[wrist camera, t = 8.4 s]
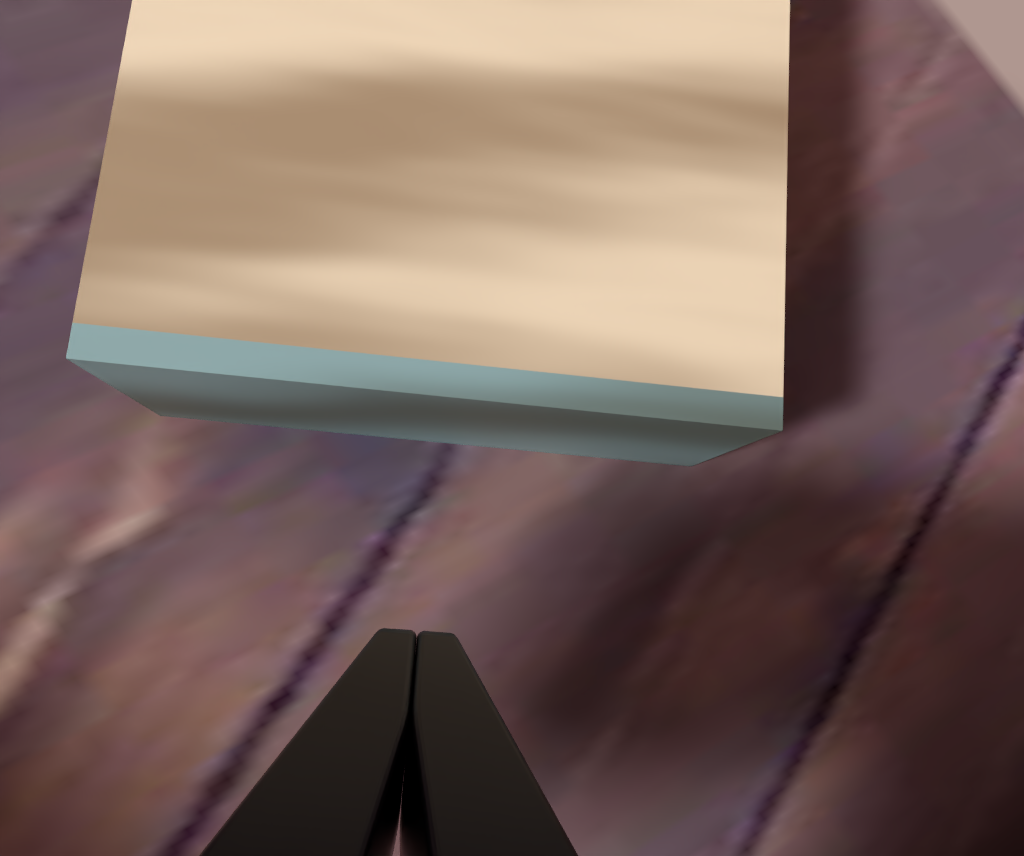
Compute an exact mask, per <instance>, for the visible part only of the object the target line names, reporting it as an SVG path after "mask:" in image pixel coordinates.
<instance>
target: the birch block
mask: <svg viewBox="0 0 1024 856" xmlns="http://www.w3.org/2000/svg"><path fill="white" fill-rule="evenodd" d="M789 30H790V0H132V6H131V11H130V16H129V22H128V27H127V33H126V38H125V43H124V49H123V54H122V59H121V65H120V70H119V76H118V81H117V86H116V92H115V97H114V103H113V108H112V113H111V119H110V124H109V129H108V135H107V140H106V146H105V151H104V156H103V162H102V167H101V173H100V178H99V183H98V189H97V194H96V199H95V205H94V210H93V216H92V221H91V226H90V232H89V237H88V243H87V248H86V253H85V259H84V264H83V269H82V275H81V280H80V286H79V291H78V296H77V302H76V307H75V313H74V318H73V323H72V329H71V334H70V339H69V345H68V350H67V356H66V359H68V360H69V361H71V362H73V363H74V364H76V365H78V366H79V367H81V368H83V369H84V370H86V371H87V372H89V373H91V374H92V375H94V376H96V377H97V378H99V379H101V380H102V381H104V382H106V383H107V384H109V385H111V386H112V387H114V388H115V389H117V390H119V391H120V392H122V393H124V394H125V395H127V396H129V397H130V398H132V399H134V400H135V401H137V402H139V403H140V404H142V405H143V406H145V407H147V408H148V409H150V410H152V411H153V412H155V413H157V414H158V415H160V416H169V417H179V418H190V419H200V420H211V421H221V422H232V423H242V424H253V425H263V426H274V427H284V428H295V429H305V430H316V431H326V432H337V433H347V434H357V435H368V436H378V437H389V438H399V439H410V440H420V441H431V442H441V443H452V444H462V445H473V446H483V447H494V448H504V449H515V450H525V451H536V452H546V453H557V454H567V455H578V456H588V457H598V458H609V459H619V460H630V461H640V462H651V463H661V464H672V465H682V466H694V465H696V464H699V463H701V462H704V461H706V460H709V459H711V458H714V457H717V456H719V455H722V454H724V453H727V452H729V451H732V450H735V449H737V448H740V447H742V446H745V445H747V444H750V443H752V442H755V441H758V440H760V439H763V438H765V437H768V436H770V435H773V434H776V433H778V432H781V431H783V385H784V326H785V267H786V208H787V148H788V89H789Z"/></svg>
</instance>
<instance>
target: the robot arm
mask: <svg viewBox="0 0 1024 856" xmlns="http://www.w3.org/2000/svg"><path fill="white" fill-rule="evenodd" d="M416 639H417V643H416ZM415 650H416V653H415ZM414 662H415V663H414ZM404 767H405V769H404ZM403 777H404V780H403ZM402 787H403V791H402ZM401 797H402V801H401ZM400 807H401V816H400V856H578V855H577V853H576V851H575V849H574V847H573V846H572V844H571V842H570V840H569V838H568V837H567V835H566V833H565V831H564V829H563V827H562V826H561V824H560V822H559V820H558V818H557V817H556V815H555V813H554V811H553V809H552V808H551V806H550V804H549V802H548V800H547V799H546V797H545V795H544V793H543V791H542V790H541V788H540V786H539V784H538V782H537V781H536V779H535V777H534V775H533V773H532V772H531V770H530V768H529V766H528V764H527V762H526V761H525V759H524V757H523V755H522V753H521V752H520V750H519V748H518V746H517V744H516V743H515V741H514V739H513V737H512V735H511V734H510V732H509V730H508V728H507V726H506V725H505V723H504V721H503V719H502V717H501V716H500V714H499V712H498V710H497V708H496V707H495V705H494V703H493V701H492V699H491V698H490V696H489V694H488V692H487V690H486V688H485V687H484V685H483V683H482V681H481V679H480V678H479V676H478V674H477V672H476V670H475V669H474V667H473V665H472V663H471V661H470V660H469V658H468V656H467V654H466V652H465V651H464V649H463V647H462V645H461V643H460V642H459V640H458V638H457V637H456V636H455V635H454V634H452V633H443V632H430V631H422V632H420V633H419V634H418V636H417V637H416V634H415V632H414V631H412V630H402V629H386V628H383V629H380V630H378V631H377V632H376V633H375V634H374V636H373V637H372V638H371V640H370V641H369V642H368V643H367V645H366V646H365V647H364V648H363V650H362V651H361V652H360V653H359V655H358V656H357V657H356V658H355V660H354V661H353V662H352V664H351V665H350V666H349V667H348V669H347V670H346V671H345V672H344V674H343V675H342V676H341V677H340V679H339V680H338V681H337V682H336V684H335V685H334V686H333V688H332V689H331V690H330V691H329V693H328V694H327V695H326V696H325V698H324V699H323V700H322V701H321V703H320V704H319V705H318V706H317V708H316V709H315V710H314V712H313V713H312V714H311V715H310V717H309V718H308V719H307V720H306V722H305V723H304V724H303V725H302V727H301V728H300V729H299V730H298V732H297V733H296V734H295V735H294V737H293V738H292V739H291V741H290V742H289V743H288V744H287V746H286V747H285V748H284V749H283V751H282V752H281V753H280V754H279V756H278V757H277V758H276V759H275V761H274V762H273V763H272V765H271V766H270V767H269V768H268V770H267V771H266V772H265V773H264V775H263V776H262V777H261V778H260V780H259V781H258V782H257V783H256V785H255V786H254V787H253V789H252V790H251V791H250V792H249V794H248V795H247V796H246V797H245V799H244V800H243V801H242V802H241V804H240V805H239V806H238V807H237V809H236V810H235V811H234V812H233V814H232V815H231V816H230V818H229V819H228V820H227V821H226V823H225V824H224V825H223V826H222V828H221V829H220V830H219V831H218V833H217V834H216V835H215V836H214V838H213V839H212V840H211V842H210V843H209V844H208V845H207V847H206V848H205V849H204V850H203V852H202V853H201V854H200V855H199V856H392V855H393V851H394V845H395V840H396V835H397V830H398V823H399V815H400Z"/></svg>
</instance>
